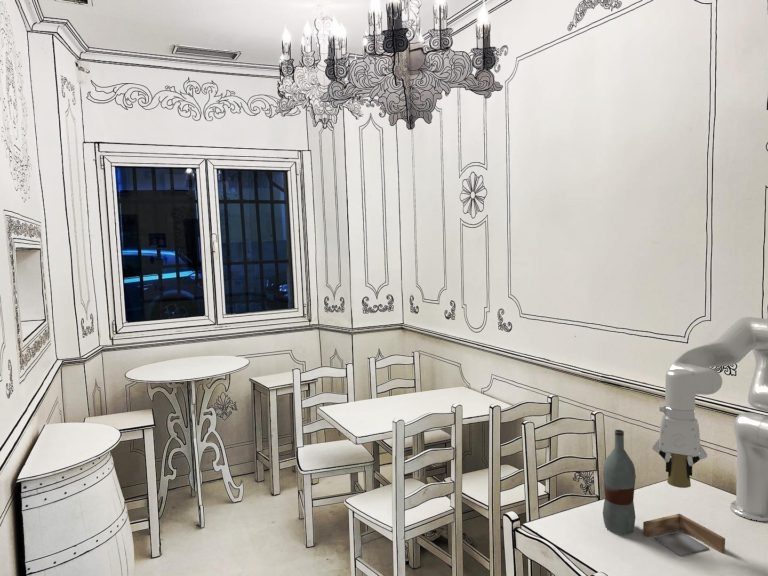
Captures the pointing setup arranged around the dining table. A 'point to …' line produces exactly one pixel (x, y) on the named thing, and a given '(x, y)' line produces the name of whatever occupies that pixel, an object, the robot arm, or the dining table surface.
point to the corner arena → (683, 535)
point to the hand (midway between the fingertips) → (678, 475)
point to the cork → (679, 471)
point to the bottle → (619, 489)
